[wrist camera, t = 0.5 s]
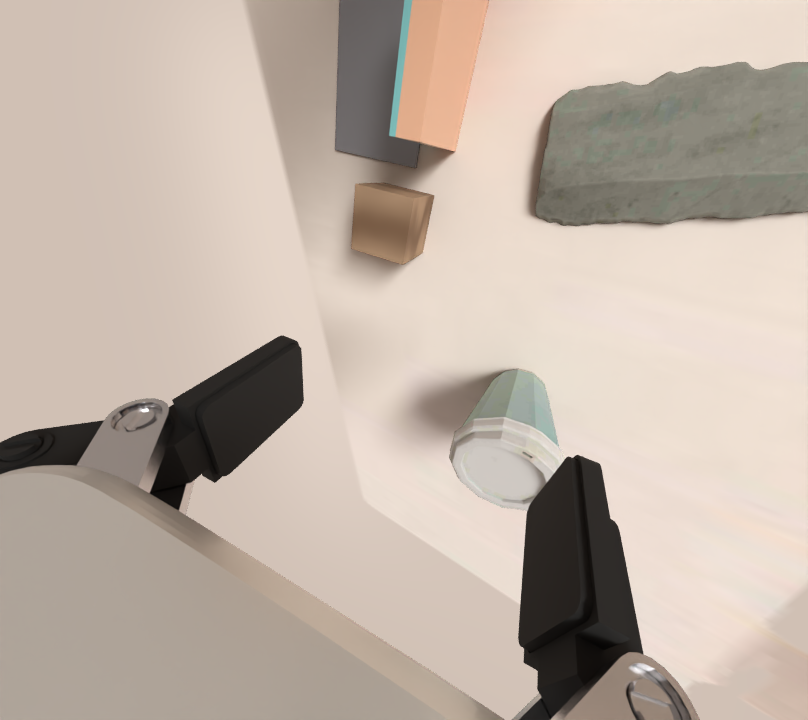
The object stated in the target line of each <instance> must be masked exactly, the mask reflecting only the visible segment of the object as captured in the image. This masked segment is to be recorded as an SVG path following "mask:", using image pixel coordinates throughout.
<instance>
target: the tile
mask: <svg viewBox="0 0 808 720" xmlns="http://www.w3.org/2000/svg"><path fill="white" fill-rule="evenodd" d="M488 3H489V0H404V9H403V17H402V26H401V35H400V44H399V53H398V61H397V70H396V79H395V88H394V97H393V105H392V114H391V123H390V132H389V136H392V137H396V138H400V139H404V140H408V141H412V142H416V143H419V144H423V145H427V146H431V147H436V148H440V149H445V150H450V151H456V147H457V142H458V138H459V133H460V129H461V124H462V120H463V115H464V111H465V106H466V102H467V98H468V93H469V89H470V84H471V80H472V75H473V71H474V66H475V62H476V57H477V53H478V48H479V44H480V39H481V35H482V30H483V26H484V21H485V17H486V12H487V8H488Z"/></svg>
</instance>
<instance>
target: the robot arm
mask: <svg viewBox="0 0 808 720" xmlns="http://www.w3.org/2000/svg"><path fill="white" fill-rule="evenodd" d="M172 401H173V403H174V405H172V406H170V407H168V405H167V403H165V402H164V401H162V400H158V399H140V400H135V401H132V402H129V403H126V404H124V405H122V406H120V407H118V408H117V409H115V410H114V411H112V412H111V413H110V414H109V415H108V416H107V417H106V419H105V420H104V421H97V422H90V423H82V424H75V425H67V426H60V427H53V428H45V429H38V430H33V431H28V432H24V433H22V434H19V435H16V436H13V437H11V438H9V439H7V440H4V441H2V442H1V443H0V720H504V719H503V718H501V717H500V716H498V715H497V714H495V713H494V712H492V711H491V710H489V709H488V708H486V707H485V706H483V705H482V704H480V703H479V702H477V701H476V700H474V699H473V698H471V697H470V696H468V695H467V694H465V693H464V692H462V691H461V690H459V689H458V688H456V687H455V686H453V685H452V684H450V683H449V682H447V681H446V680H444V679H443V678H441V677H440V676H438V675H437V674H435V673H434V672H432V671H431V670H429V669H428V668H426V667H424V666H423V665H421V664H420V663H418V662H417V661H415V660H413V659H412V658H410V657H409V656H407V655H406V654H404V653H402V652H401V651H399V650H398V649H396V648H394V647H393V646H392V645H390V644H388V643H387V642H385V641H383V640H382V639H380V638H379V637H378V636H376V635H374V634H373V633H371V632H369V631H368V630H367V629H365V628H363V627H362V626H360V625H359V624H357V623H356V622H354V621H352V620H351V619H349V618H348V617H346V616H345V615H343V614H342V613H340V612H338V611H337V610H335V609H334V608H332V607H331V606H329V605H327V604H326V603H324V602H323V601H321V600H319V599H318V598H316V597H315V596H313V595H311V594H310V593H308V592H307V591H305V590H304V589H302V588H301V587H299V586H297V585H296V584H294V583H293V582H291V581H289V580H288V579H286V578H285V577H283V576H281V575H280V574H278V573H277V572H275V571H274V570H272V569H270V568H269V567H267V566H266V565H264V564H262V563H261V562H259V561H258V560H256V559H255V558H253V557H252V556H250V555H248V554H247V553H245V552H244V551H242V550H240V549H239V548H237V547H236V546H234V545H232V544H231V543H229V542H228V541H226V540H224V539H223V538H221V537H219V536H218V535H216V534H215V533H213V532H212V531H210V530H208V529H207V528H205V527H204V526H202V525H200V524H199V523H197V522H196V521H194V520H192V519H191V518H189V517H188V516H186V512H187V508H188V504H189V500H190V496H191V493H192V488H193V485H194V481H195V479H196V478H197V477H198V476H199V475H201V474H202V475H203V476H204V477H206V478H208V479H209V480H211V481H213V482H214V483H215V482H217V481H218V480H219V479H220V478H221V477H222V476H227V475H228V474H230V473H231V472H232V471H233V470H234V469H235V468H236V467H238V466H239V465H240V464H241V463H242V462H243V461H244V460H245V459H246V458H247V457H248V456H249V455H250V454H251V453H253V452H254V451H255V450H256V449H257V448H258V447H259V446H260V445H261V444H262V443H263V442H264V441H265V440H266V439H267V438H268V437H270V436H271V435H272V434H273V433H274V432H275V431H276V430H277V429H278V428H279V427H280V426H281V425H283V424H284V423H285V422H286V421H287V420H288V419H289V418H290V417H291V416H292V415H293V414H294V413H295V412H297V411H298V410H299V409H300V407H301V406H302V404H303V401H304V397H303V376H302V354H301V348H300V347H299V344H298V342H297V341H295V340H293V339H290V338H288V337H285V336H279V337H277V338H275V339H274V340H272V341H270V342H269V343H267V344H265V345H264V346H262V347H260V348H259V349H257V350H255V351H254V352H252V353H250V354H249V355H247V356H245V357H244V358H242V359H240V360H239V361H237V362H235V363H233V364H232V365H230V366H228V367H227V368H225V369H223V370H222V371H220V372H218V373H217V374H215V375H214V376H212V377H210V378H208V379H207V380H205V381H203V382H202V383H200V384H198V385H196V386H195V387H193V388H192V389H190V390H188V391H186V392H185V393H183V394H181V395H180V396H178V397H176V398H175V399H173V400H172ZM518 638H519V644H520V646H521V647H523V648H524V663H525V664H527V665H529V666H531V667H533V668H534V669H536V670H537V671H538V687H537V689H538V691H539V694H538V695H537V696H536V697H535V698H534V699H533V700H532V701H530V703H528V704H527V705H526V706H525V707H524V708H523V709H522V710H521V711H520V712H519V713H518V714H517V715H516V716H515V717H514V718H513V719H512V720H700V719H699V717H698V715H697V713H696V711H695V709H694V707H693V705H692V703H691V701H690V699H689V698H688V696H687V695H686V693H685V692H684V690H683V689H682V688H681V686H680V685H679V683H678V682H677V681H676V680H675V679H674V678H673V677H672V676H671V674H670V673H669V672H668V671H667V670H666V669H665V668H664V667H662V666H661V665H660V664H659V663H657V662H656V661H655V660H653V659H652V658H650V657H648V656H646V655H643V650H642V645H641V639H640V634H639V629H638V624H637V619H636V614H635V609H634V603H633V598H632V593H631V588H630V583H629V578H628V573H627V567H626V562H625V557H624V552H623V547H622V542H621V537H620V532H619V529H618V526H617V524H616V523H615V521H613V520H611V519H610V515H609V509H608V503H607V497H606V492H605V486H604V480H603V474H602V469H601V466H600V464H599V463H597V462H594V461H592V460H589V459H587V458H584V457H582V456H579V455H576V456H575V457H574V458H571V457H567V458H566V459H565V460H564V461H563V463H562V464H561V465H560V466H559V468H558V469H557V470H556V471H555V473H554V474H553V475H552V477H551V478H550V479H549V480H548V482H547V483H546V484H545V486H544V487H543V488H542V489H541V491H540V492H539V493H538V494H537V496H536V497H535V498H534V500H533V501H532V502H531V504H530V505H529V508H528V511H527V518H526V533H525V547H524V562H523V576H522V591H521V605H520V620H519V636H518Z"/></svg>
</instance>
